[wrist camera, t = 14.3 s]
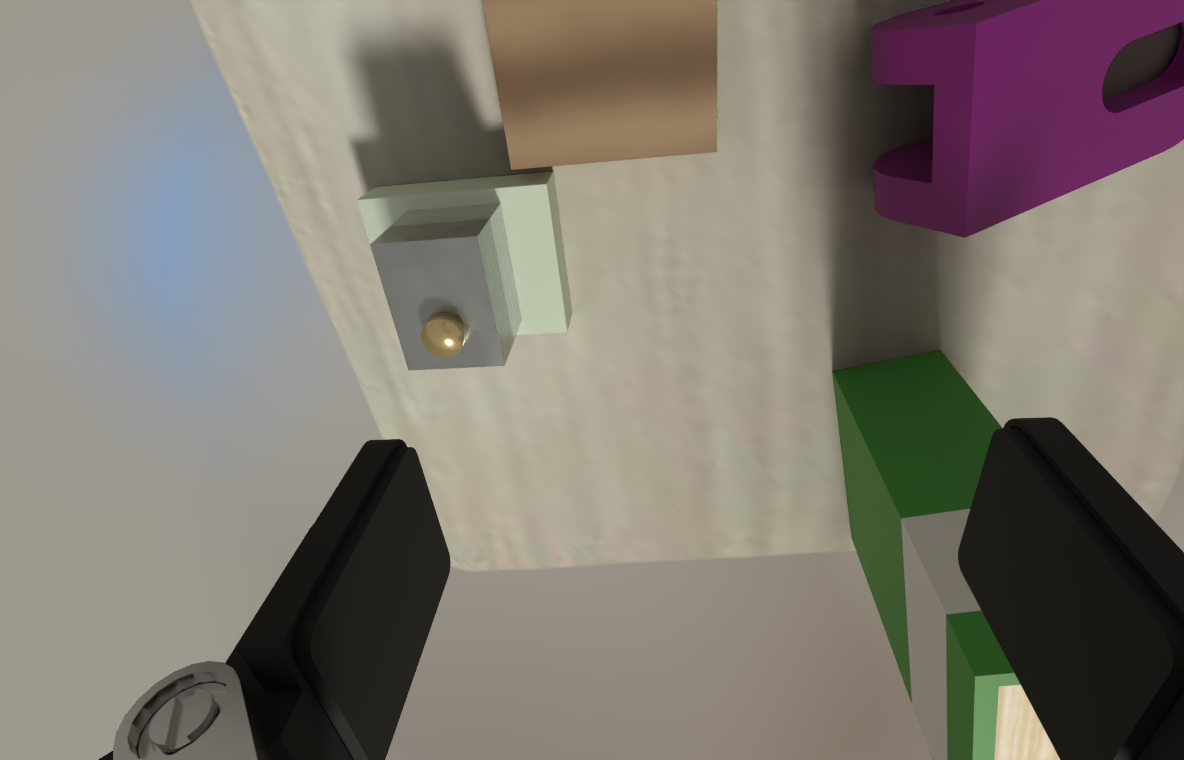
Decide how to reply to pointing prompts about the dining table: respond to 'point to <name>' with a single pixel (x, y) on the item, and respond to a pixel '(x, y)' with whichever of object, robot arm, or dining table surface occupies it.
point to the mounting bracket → (1019, 105)
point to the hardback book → (930, 551)
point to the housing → (450, 286)
